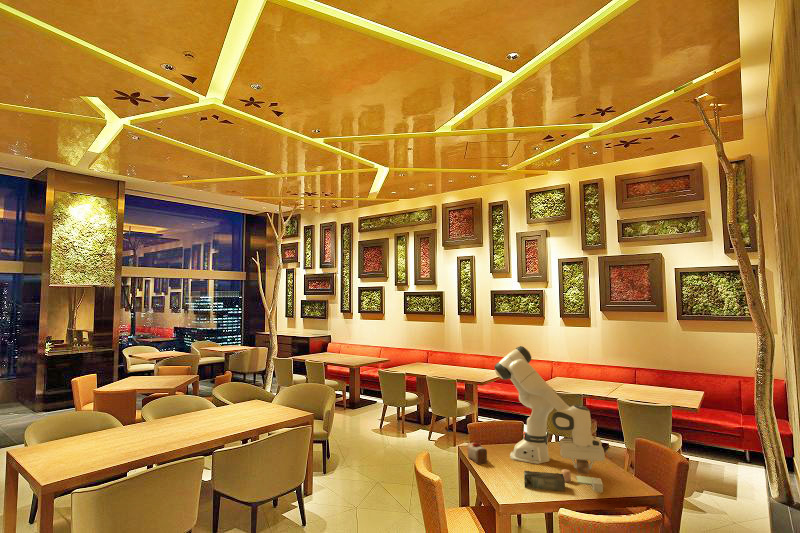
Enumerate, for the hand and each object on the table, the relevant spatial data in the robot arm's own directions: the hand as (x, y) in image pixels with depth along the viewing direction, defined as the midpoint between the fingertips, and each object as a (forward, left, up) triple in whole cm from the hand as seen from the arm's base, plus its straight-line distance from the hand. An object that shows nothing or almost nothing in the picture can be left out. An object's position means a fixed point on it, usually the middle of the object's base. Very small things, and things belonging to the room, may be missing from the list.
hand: (582, 468), depth 221 cm
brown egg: (-7, +9, -10) cm, 15 cm away
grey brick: (+7, +3, -10) cm, 13 cm away
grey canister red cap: (-54, +26, -10) cm, 61 cm away
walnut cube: (0, 0, -2) cm, 2 cm away
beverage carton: (-18, -2, -11) cm, 21 cm away
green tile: (+3, +12, -10) cm, 16 cm away
